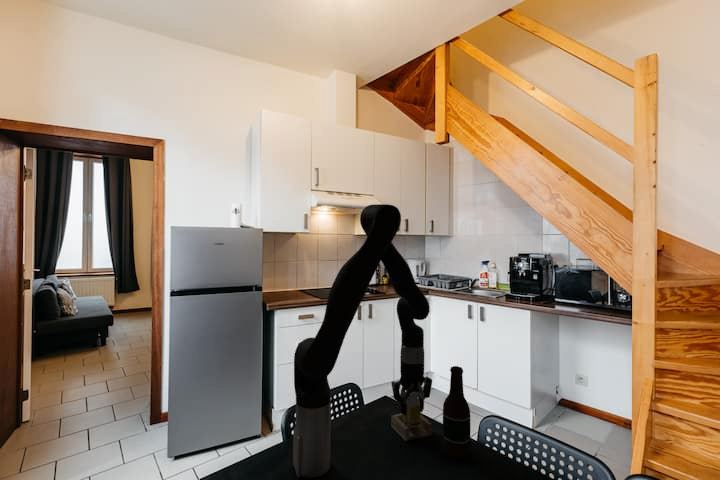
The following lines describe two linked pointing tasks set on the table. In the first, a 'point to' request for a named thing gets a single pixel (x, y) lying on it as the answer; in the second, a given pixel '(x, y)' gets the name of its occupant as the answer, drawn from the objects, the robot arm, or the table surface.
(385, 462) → the table surface
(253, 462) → the table surface
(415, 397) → the supplement bottle
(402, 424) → the u holder
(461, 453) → the beer bottle
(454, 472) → the table surface
